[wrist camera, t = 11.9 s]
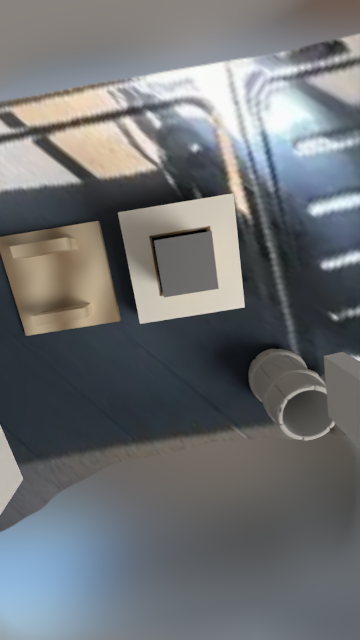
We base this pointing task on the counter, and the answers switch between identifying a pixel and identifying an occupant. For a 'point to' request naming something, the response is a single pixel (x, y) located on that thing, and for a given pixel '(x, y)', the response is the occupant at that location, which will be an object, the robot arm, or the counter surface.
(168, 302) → the port
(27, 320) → the beige plate with rail
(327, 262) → the counter surface
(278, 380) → the mug
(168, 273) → the plug
